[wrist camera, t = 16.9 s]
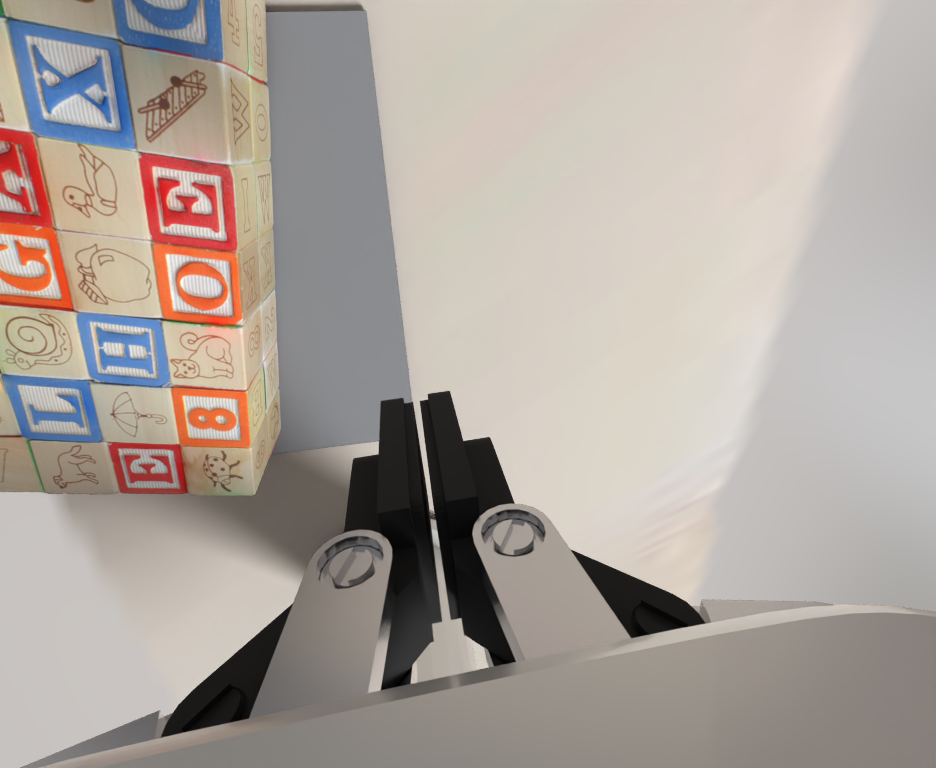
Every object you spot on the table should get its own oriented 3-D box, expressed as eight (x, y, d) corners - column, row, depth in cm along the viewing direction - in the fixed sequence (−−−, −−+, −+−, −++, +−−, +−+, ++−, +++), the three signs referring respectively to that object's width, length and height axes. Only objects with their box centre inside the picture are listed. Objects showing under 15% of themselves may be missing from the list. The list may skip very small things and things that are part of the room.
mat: (415, 433, 30) (416, 436, 30) (158, 464, 28) (155, 468, 28) (366, 12, 20) (366, 10, 19) (-45, 19, 18) (-53, 17, 18)
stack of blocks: (271, -4, 19) (-96, -90, 16) (221, -65, 13) (-344, -209, 11) (281, 431, 28) (49, 419, 26) (254, 501, 23) (-44, 494, 20)
